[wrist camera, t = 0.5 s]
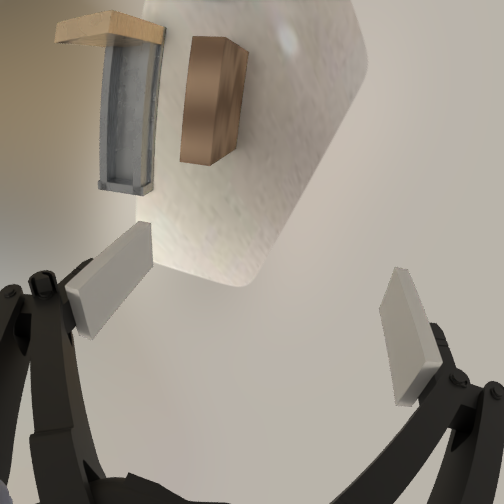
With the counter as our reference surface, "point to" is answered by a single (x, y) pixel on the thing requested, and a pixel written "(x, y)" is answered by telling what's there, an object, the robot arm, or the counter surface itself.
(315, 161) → the counter surface
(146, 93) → the door track
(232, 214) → the counter surface
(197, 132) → the door panel
